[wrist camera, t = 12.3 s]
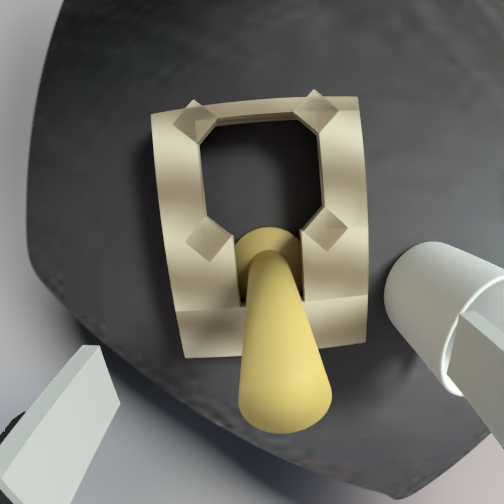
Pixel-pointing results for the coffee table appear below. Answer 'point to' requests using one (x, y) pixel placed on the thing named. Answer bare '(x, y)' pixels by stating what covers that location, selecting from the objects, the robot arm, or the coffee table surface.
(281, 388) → the headed peg
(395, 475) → the coffee table surface
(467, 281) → the mug
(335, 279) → the keyhole board
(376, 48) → the coffee table surface
